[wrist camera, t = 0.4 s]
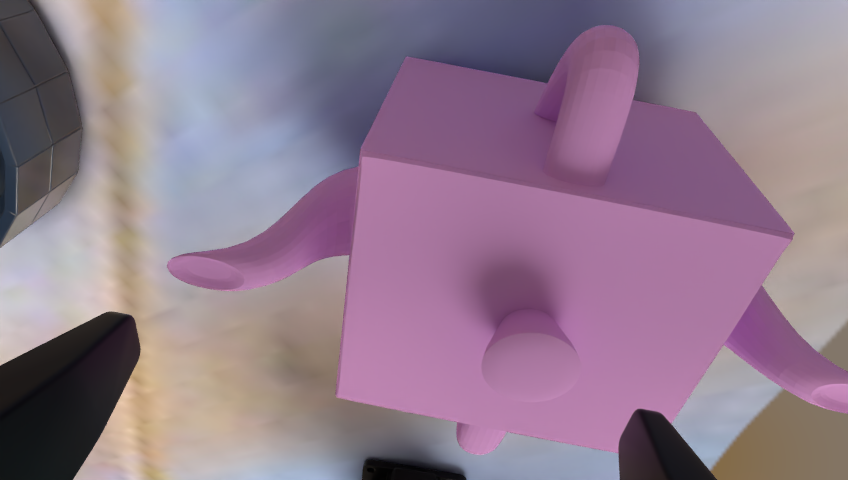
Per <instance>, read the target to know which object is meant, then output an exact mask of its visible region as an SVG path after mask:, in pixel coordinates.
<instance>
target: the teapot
mask: <svg viewBox="0 0 848 480" xmlns="http://www.w3.org/2000/svg"><path fill="white" fill-rule="evenodd" d="M638 71H639V52H638V47H637V44H636V42H635V41H634V39H633V37H632V36H631V35H630V34H629V33H628V32H626V31H625V30H624V29H622V28H619V27H616V26H613V25H600V26H596V27H593V28H591V29H589V30H587V31H585V32H583V33H582V34H580V35H579V36H578V37H577V38H576V39H575V40H574V41H573V42H572V43H571V44H570V46H569V47H568V49H567V50H566V52H565V53H564V55H563V56H562V58H561V59H560V61H559V62H558V64H557V66H556V68H555V70H554V72H553V74H552V75H551V77H550V79H549V81H548V83H543V82H538V81H533V80H528V79H523V78H517V77H512V76H507V75H502V74H497V73H491V72H486V71H481V70H476V69H471V68H465V67H460V66H455V65H450V64H445V63H439V62H434V61H429V60H424V59H418V58H413V57H407V56H406V57H405V59H404V61H403V63H402V65H401V67H400V69H399V72H398V74H397V76H396V78H395V80H394V82H393V84H392V86H391V88H390V90H389V92H388V94H387V96H386V98H385V100H384V102H383V104H382V106H381V108H380V110H379V112H378V114H377V116H376V118H375V120H374V122H373V124H372V126H371V128H370V130H369V132H368V134H367V136H366V138H365V141H364V143H363V145H362V147H361V149H360V157H359V167H355V168H350V169H346V170H343V171H341V172H338V173H336V174H334V175H332V176H329V177H328V178H326V179H325V180H323V181H322V182H320V183H319V184H317V185H316V186H315V187H314V188H312V189H311V190H310V191H309V192H308V193H307V194H306V195H305V196H303V197H302V198H301V199H300V200H299V201H298V202H297V203H296V204H295V205H294V206H293V207H292V208H291V209H290V210H289V211H288V212H287V213H286V214H285V215H284V216H283V217H282V218H280V219H279V220H278V221H277V222H276V223H275V224H273V225H272V226H271V227H270V228H268V229H267V230H266V231H264V232H263V233H261V234H259V235H258V236H256V237H254V238H252V239H250V240H249V241H247V242H244V243H241V244H238V245H235V246H232V247H229V248H224V249H217V250H210V251H202V252H194V253H187V254H182V255H179V256H176V257H173V258H172V259H171V260H170V261H168V264H167V268H168V270H169V272H170V273H171V274H172V275H173V276H174V277H176V278H178V279H179V280H181V281H184V282H186V283H188V284H191V285H195V286H198V287H203V288H207V289H213V290H221V291H241V290H248V289H253V288H258V287H262V286H266V285H269V284H272V283H275V282H277V281H280V280H282V279H284V278H286V277H288V276H290V275H292V274H294V273H296V272H297V271H299V270H301V269H302V268H304V267H306V266H308V265H309V264H311V263H313V262H316V261H318V260H320V259H324V258H328V257H333V256H341V255H350V256H349V266H348V276H347V285H346V295H345V305H344V315H343V325H342V335H341V345H340V355H339V364H338V374H337V384H336V394H335V395H336V397H338V398H342V399H346V400H351V401H355V402H360V403H365V404H370V405H375V406H379V407H384V408H389V409H394V410H399V411H404V412H409V413H414V414H419V415H424V416H429V417H434V418H439V419H444V420H449V421H454V422H457V432H456V433H457V440H458V443H459V445H460V446H461V447H462V448H463V449H464V450H465V451H467V452H469V453H472V454H478V455H482V454H487V453H489V452H491V451H493V450H494V449H495V448H497V446H498V445H499V444H500V442H501V441H502V439H503V437H504V435H505V434H506V432H510V433H515V434H520V435H526V436H531V437H536V438H541V439H546V440H551V441H557V442H562V443H567V444H572V445H578V446H583V447H588V448H593V449H599V450H604V451H609V452H615V453H618V446H619V440H620V437H621V434H622V433H623V431H624V429H625V427H626V425H627V423H628V421H629V420H630V418H631V416H632V414H633V412H634V411H635V410H637V409H646V410H652V411H657V412H660V413H661V414H663V415H664V416H665V417H666V419H667V420H668V421H669V422H670V423H672V422H673V420H674V419H675V417H676V416H677V414H678V413H679V411H680V410H681V408H682V407H683V405H684V404H685V402H686V401H687V399H688V398H689V396H690V395H691V393H692V392H693V390H694V389H695V387H696V386H697V384H698V383H699V381H700V380H701V378H702V377H703V375H704V374H705V372H706V371H707V369H708V368H709V366H710V365H711V363H712V362H713V360H714V359H715V357H716V356H717V354H718V353H719V351H720V350H721V348H722V346H723V345H725V346H726V347H727V348H729V349H730V350H731V351H733V352H734V353H735V354H737V355H738V356H739V357H741V358H742V359H743V360H744V361H746V362H747V363H748V364H750V365H751V366H752V367H754V368H755V369H756V370H758V371H759V372H760V373H762V374H763V375H765V376H766V377H767V378H769V379H770V380H772V381H773V382H775V383H776V384H778V385H779V386H781V387H782V388H784V389H786V390H787V391H789V392H791V393H793V394H794V395H796V396H798V397H800V398H801V399H803V400H805V401H807V402H809V403H811V404H814V405H817V406H819V407H822V408H825V409H829V410H833V411H837V412H841V413H847V414H848V371H846V370H844V369H842V368H840V367H838V366H836V365H835V364H833V363H832V362H831V361H829V360H828V359H827V358H825V357H824V356H822V355H821V354H820V353H818V352H817V351H816V350H814V349H813V348H812V347H811V346H810V345H809V344H808V343H807V342H806V341H805V340H804V339H803V338H802V337H801V336H800V335H799V334H798V333H797V332H796V331H795V329H794V328H793V327H792V326H791V325H790V323H789V322H788V321H787V320H786V319H785V317H784V316H783V315H782V313H781V312H780V310H779V309H778V308H777V306H776V305H775V303H774V302H773V301H772V299H771V298H770V296H769V295H768V294H767V292H766V291H765V289H764V288H763V286H762V284H763V282H764V280H765V279H766V277H767V276H768V274H769V273H770V271H771V270H772V268H773V267H774V265H775V263H776V262H777V260H778V259H779V257H780V256H781V254H782V253H783V251H784V250H785V249H786V248H787V246H788V245H789V244H790V242H791V241H792V239H793V236H794V234H795V233H794V232H793V231H792V230H791V228H790V227H789V226H788V225H787V223H786V222H785V221H784V220H783V219H782V217H781V216H780V215H779V214H778V212H777V211H776V210H775V209H774V208H773V206H772V205H771V204H770V203H769V201H768V200H767V199H766V198H765V196H764V195H763V194H762V193H761V192H760V190H759V189H758V188H757V187H756V185H755V184H754V183H753V182H752V181H751V179H750V178H749V177H748V176H747V174H746V173H745V172H744V171H743V169H742V168H741V167H740V166H739V165H738V163H737V162H736V161H735V160H734V158H733V157H732V156H731V155H730V154H729V152H728V151H727V150H726V149H725V147H724V146H723V145H722V144H721V142H720V141H719V140H718V139H717V138H716V136H715V135H714V134H713V133H712V131H711V130H710V129H709V128H708V127H707V125H706V124H705V123H704V122H703V120H702V119H701V118H700V117H699V115H698V114H697V113H696V112H691V111H686V110H681V109H676V108H671V107H666V106H661V105H656V104H651V103H646V102H641V101H636V100H633V97H634V93H635V88H636V84H637V79H638Z"/></svg>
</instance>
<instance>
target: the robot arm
mask: <svg viewBox="0 0 848 480" xmlns="http://www.w3.org/2000/svg"><path fill="white" fill-rule="evenodd" d="M139 356H140V343H139V338H138V333H137V328H136V323H135V320H134V318H133V317H132V316H131V315H128V314H123V313H118V312H106V313H104V314H102V315H100V316H98V317H96V318H94V319H92V320H90V321H88V322H86V323H84V324H82V325H80V326H78V327H76V328H74V329H72V330H70V331H68V332H66V333H64V334H62V335H60V336H58V337H56V338H54V339H52V340H50V341H48V342H46V343H44V344H42V345H40V346H38V347H36V348H34V349H32V350H30V351H28V352H26V353H24V354H22V355H20V356H18V357H16V358H14V359H12V360H10V361H8V362H6V363H4V364H2V365H1V366H0V480H73V479H74V477H75V475H76V474H77V472H78V471H79V469H80V468H81V466H82V464H83V463H84V461H85V460H86V458H87V457H88V455H89V454H90V452H91V450H92V449H93V447H94V445H95V444H96V442H97V440H98V439H99V437H100V435H101V433H102V432H103V430H104V428H105V426H106V424H107V422H108V420H109V418H110V416H111V414H112V412H113V410H114V408H115V406H116V404H117V402H118V400H119V398H120V396H121V394H122V392H123V390H124V388H125V386H126V384H127V382H128V380H129V378H130V376H131V374H132V372H133V370H134V368H135V366H136V364H137V362H138V359H139ZM618 454H619V471H620V480H717V479H716V478H715V477H714V475H713V474H712V473H711V472H710V471H709V469H708V468H707V467H706V466H705V465H704V463H703V462H702V461H701V460H700V459H699V457H698V456H697V455H696V454H695V452H694V451H693V450H692V449H691V448H690V446H689V445H688V444H687V443H686V442H685V440H684V439H683V438H682V437H681V436H680V434H679V433H678V432H677V431H676V429H675V428H674V427H673V426H672V425H671V423H670V422H669V421H668V420H667V419H666V417H665V416H664V415H663V414H661V413H660V412H657V411H652V410H646V409H637V410H635V411H634V412H633V414H632V416H631V418H630V420H629V421H628V423H627V425H626V427H625V429H624V431H623V433H622V434H621V437H620V440H619V446H618ZM362 480H466V478H465V477H464V476H462V475H459V474H453V473H447V472H441V471H435V470H429V469H424V468H418V467H412V466H406V465H400V464H394V463H389V462H383V461H377V460H366V461H365V463H364V467H363V474H362Z"/></svg>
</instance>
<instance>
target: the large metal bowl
mask: <svg viewBox="0 0 848 480" xmlns="http://www.w3.org/2000/svg"><path fill="white" fill-rule="evenodd" d="M67 71H68V70H67V67H66V66H65V64H64V62H63V60H62V58H61V56H60V54H59V53H58V51H57V49H56V47H55V45H54V43H53V42H52V40H51V38H50V36H49V34H48V32H47V30H46V29H45V27H44V25H43V23H42V21H41V19H40V17H39V16H38V14H37V12H36V11H34V7H33V6H32V5H31V4H30V2H29V1H28V0H0V248H1V247H2V246H4V245H5V244H6V243H8V242H9V241H10V240H11V239H13V238H14V237H15V236H17V235H18V234H19V233H21V232H22V231H23V230H25V229H26V228H27V227H29V226H30V225H31V224H33V223H34V222H35V221H36V220H38V219H39V218H40V217H42V216H43V215H44V214H46V213H47V212H48V211H50V210H51V209H52V208H54V207H55V206H56V205H58V204H59V203H60V201H61V200H62V198H63V196H64V195H65V193H66V191H67V190H68V188H69V186H70V185H71V183H72V181H73V180H74V178H75V176H76V175H77V173H78V170H79V160H80V149H81V138H82V123H81V119H80V115H79V111H78V107H77V103H76V99H75V95H74V91H73V87H72V83H71V79H70V75H69V73H68V72H67Z"/></svg>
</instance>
